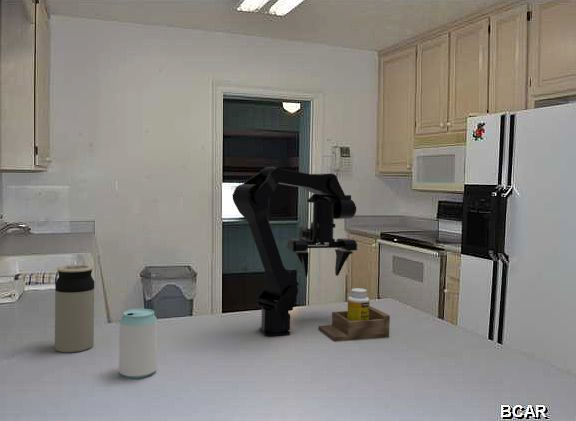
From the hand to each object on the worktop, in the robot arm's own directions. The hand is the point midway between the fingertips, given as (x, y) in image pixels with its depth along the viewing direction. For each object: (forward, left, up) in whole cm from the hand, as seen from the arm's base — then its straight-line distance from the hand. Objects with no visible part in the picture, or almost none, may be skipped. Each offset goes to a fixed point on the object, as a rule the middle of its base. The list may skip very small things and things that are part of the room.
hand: (321, 275), depth 137 cm
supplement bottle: (+6, -11, -12) cm, 18 cm away
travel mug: (-62, -7, -13) cm, 64 cm away
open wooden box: (+4, -11, -13) cm, 18 cm away
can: (-49, -26, -13) cm, 57 cm away
